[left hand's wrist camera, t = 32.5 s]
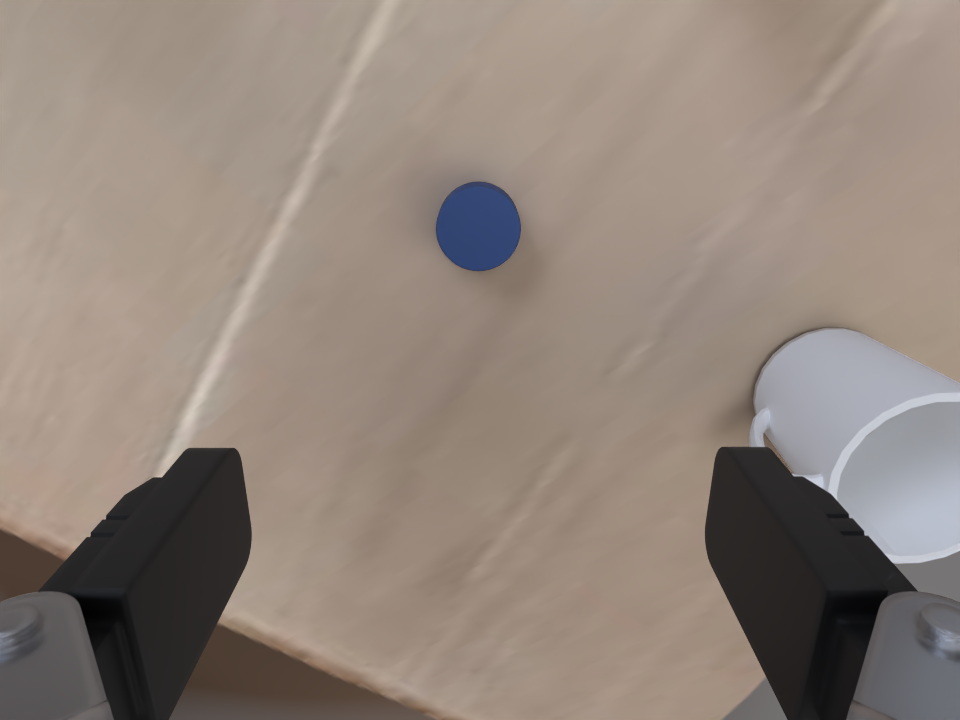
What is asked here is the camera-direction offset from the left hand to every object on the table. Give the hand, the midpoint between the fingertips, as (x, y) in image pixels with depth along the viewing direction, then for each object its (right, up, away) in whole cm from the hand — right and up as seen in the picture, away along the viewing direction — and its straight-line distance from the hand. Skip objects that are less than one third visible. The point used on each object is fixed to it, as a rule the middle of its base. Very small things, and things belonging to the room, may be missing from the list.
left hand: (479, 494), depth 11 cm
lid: (0, +9, +23) cm, 25 cm away
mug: (+19, 0, +29) cm, 35 cm away
